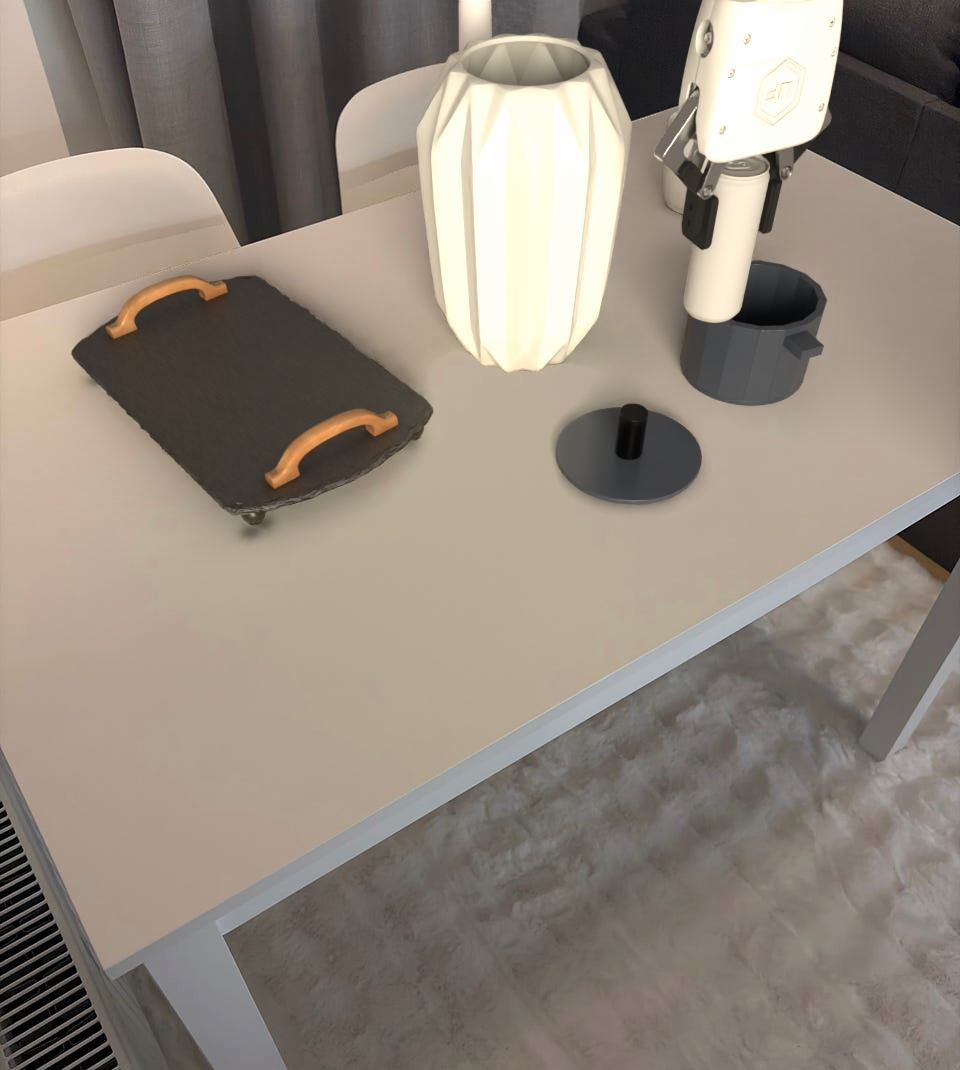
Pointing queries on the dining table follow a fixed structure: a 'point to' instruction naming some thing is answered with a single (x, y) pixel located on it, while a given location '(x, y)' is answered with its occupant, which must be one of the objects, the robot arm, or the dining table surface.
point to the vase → (522, 194)
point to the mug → (675, 179)
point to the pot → (758, 339)
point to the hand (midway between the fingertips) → (726, 231)
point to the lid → (628, 455)
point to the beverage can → (728, 243)
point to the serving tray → (250, 391)
